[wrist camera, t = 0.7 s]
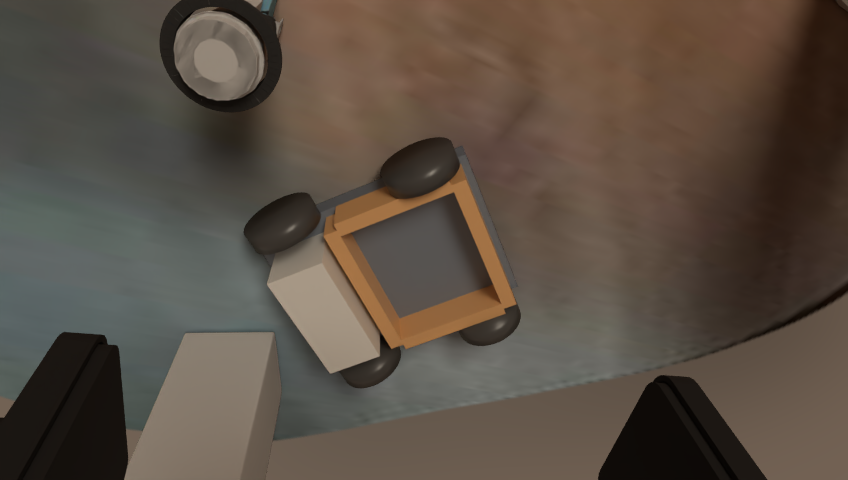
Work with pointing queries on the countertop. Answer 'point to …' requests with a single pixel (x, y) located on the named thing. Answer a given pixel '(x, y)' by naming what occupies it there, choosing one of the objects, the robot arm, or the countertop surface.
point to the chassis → (390, 263)
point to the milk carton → (213, 411)
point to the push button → (223, 52)
